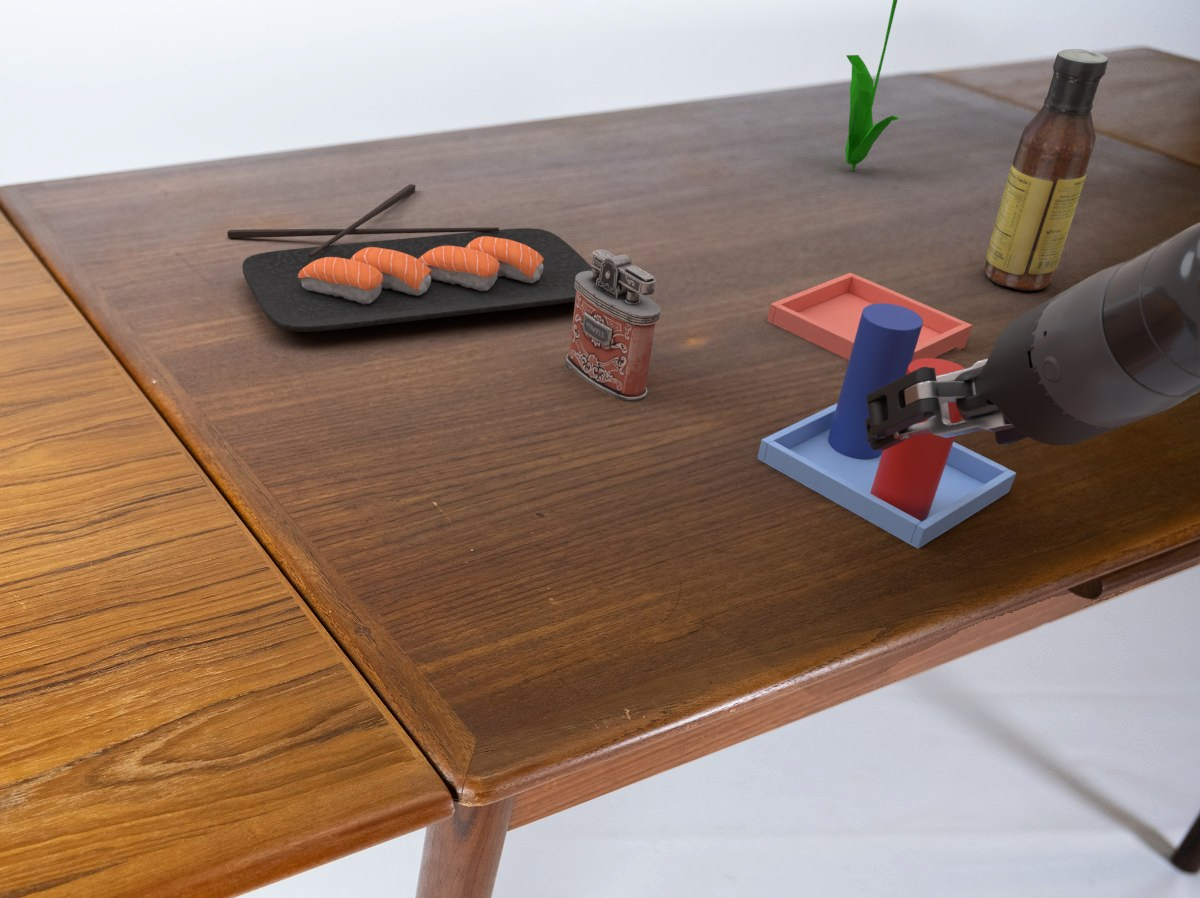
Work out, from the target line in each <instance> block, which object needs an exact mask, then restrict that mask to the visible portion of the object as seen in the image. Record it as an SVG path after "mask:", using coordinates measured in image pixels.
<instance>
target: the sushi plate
mask: <svg viewBox="0 0 1200 898" xmlns="http://www.w3.org/2000/svg"><path fill="white" fill-rule="evenodd" d="M414 192H416V184H414V183H413V184H412V183H410V184H408V185H406V186H405V187H404V188H402V189H400V190H399V191H398V192H396V193H394V194H393V195H392V196H391V197H389V198H388V199H386V200H384V201H383V202H382V203H381V204H379V205H378V206H376V207H374V209H372V210H370V211H369V212H368V213H367V214H365V215H363V217H361V218H360V219H358V220H357V221H355V222H354V223H352V224H351V225H349V226H348V227H346V228H273V229H272V228H270V229H269V228H266V229H265V228H263V229H261V228H259V229H258V228H257V229H255V228H253V229H250V228H249V229H230V230H227V232H226V234H227V238H229V239H253V238H257V239H258V238H290V237H291V238H293V237H324V236H325V237H326V236H333V237H331V238H330V239H328V240H327V241H326V242H324V243H322V244H321V245H320V246H310V247H299V248H291V249H290V248H289V249H281V250H273V251H267V252H266V251H265V252H261V253H257V254H253V255H251V256H248V257H246V258H245V259H244V260H243V262H242V265H241V266H242V267H241V268H242V273H243V277H244V279H245V281H246V284H247V285H248V288H249V289H250V291H251V294H253V296H254V298H255V300H256V302H257V303H258V306H259V307H260V309H261V310H262V312H263V313H264V315H265V316H266V317H267V319H269V321H270V322H271V323H272V324H273V325H275V326H277V327H278V328H280V329H282V330H285V331H290V332H300V333H302V332H303V333H307V332H310V333H311V332H326V331H336V330H345V329H355V328H365V327H373V326H382V325H389V324H390V325H391V324H398V323H399V324H400V323H407V322H415V321H425V320H433V319H442V318H450V317H458V316H459V317H460V316H469V315H476V314H484V313H493V312H502V311H509V310H519V309H527V308H528V309H529V308H536V307H545V306H553V305H562V304H569V303H575V299H576V289H575V287H574V285H575V277H576V275H577V274H578V273H580V272H584V271H592V266H591V264H590V263H589V262H588V261H587V260H586V259H585V258H583V256H582V255H580V254H579V253H578V251H576V250H575V249H574V248H573V247H572V246H570V244H568V242H566V241H565V240H564V239H562V238H561V237H560V236H558V235H557V234H555V233H553V232H551V231H549V230H545V229H541V228H533V227H532V228H531V227H526V228H525V227H522V228H520V227H518V228H504V229H500V227H499V226H498V227H496V226H493V227H492V226H491V227H490V226H486V227H483V226H482V227H425V228H424V227H419V228H418V227H417V228H416V227H415V228H414V227H411V228H410V227H409V228H407V227H406V228H405V227H404V228H359V227H360V226H362V225H363V224H365V223H366V222H368V221H370V220H372V219H373V218H375V217H376V216H378V215H380V214H381V213H383V212H384V211H386V210H388V209H389V208H391V207H393V206H394V205H396V204H397V203H398V202H401V201H402V200H403V199H405V198H406V197H408V196H410V195H411V194H413V193H414ZM434 233H435V234H436V233H439V234H437V235H427V236H417V237H406V238H396V239H395V238H394V239H384V240H373V241H363V242H353V243H352V242H351V243H343V244H334V243H335V242H337V241H339V240H341V239H342V238H343V237H345V236H353V235H356V236H358V235H389V234H390V235H391V234H392V235H393V234H394V235H395V234H434ZM440 233H447V234H440ZM448 233H449V234H448Z"/></svg>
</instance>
